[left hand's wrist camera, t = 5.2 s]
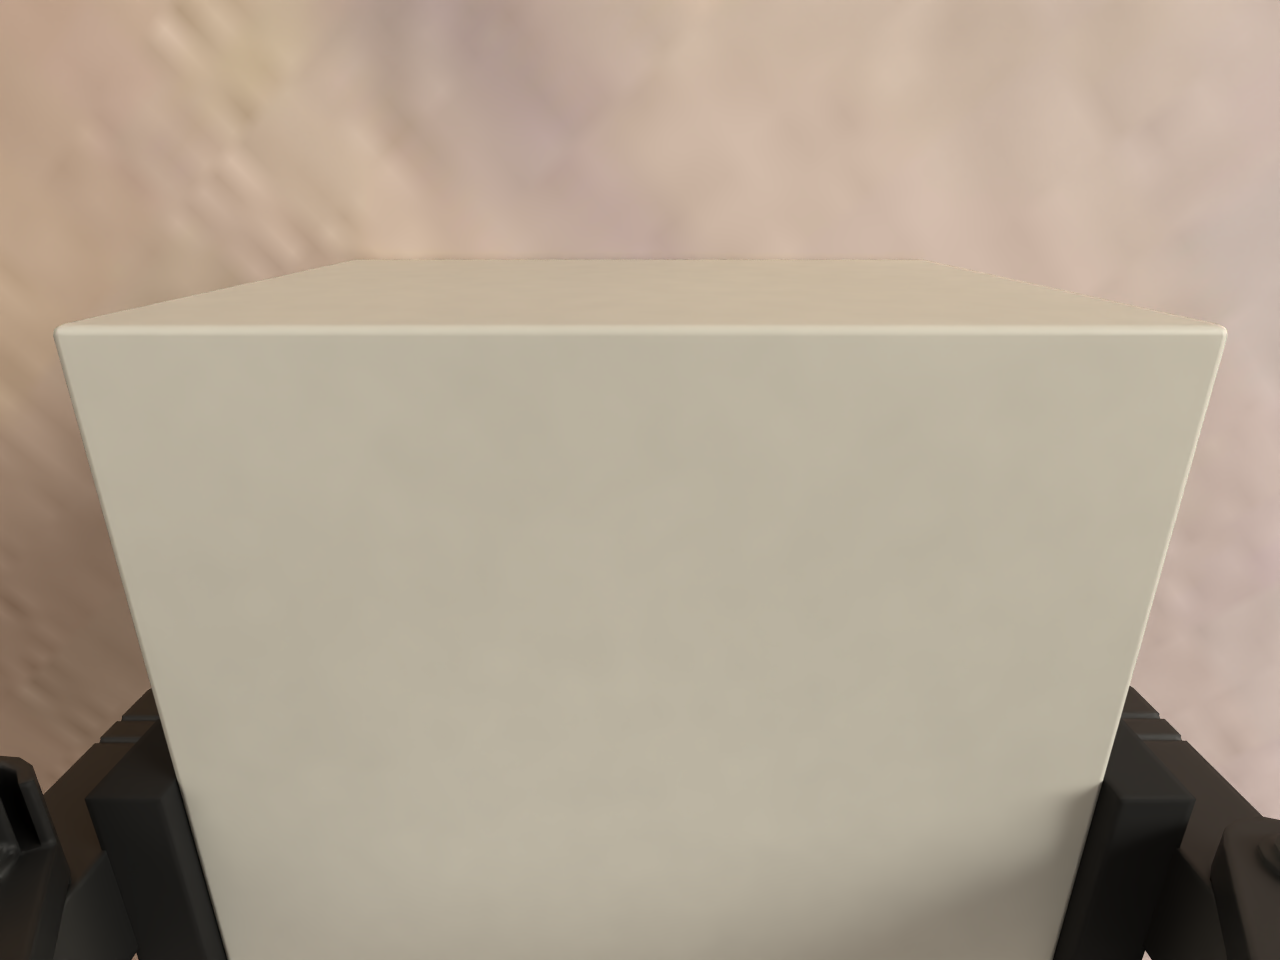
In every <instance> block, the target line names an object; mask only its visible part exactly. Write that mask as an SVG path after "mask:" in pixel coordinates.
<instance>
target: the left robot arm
mask: <svg viewBox="0 0 1280 960" xmlns="http://www.w3.org/2000/svg"><path fill="white" fill-rule="evenodd" d="M1145 950H1146V952H1147V953H1148V955H1149V956H1150V958H1151V959H1152V960H1280V820H1277V819H1271V818H1266V817H1263V816H1262V815H1261V814H1260V813H1259V812H1258V811H1257V810H1256V809H1255V808H1254V807H1253V806H1252V805H1251V804H1250V803H1249V802H1248V801H1247V800H1246V799H1245V798H1244V797H1243V796H1241V795H1240V794H1239V793H1238V792H1237V791H1236V790H1235V789H1234V788H1233V787H1232V786H1231V785H1230V784H1229V783H1228V782H1227V781H1226V780H1225V779H1224V778H1223V777H1222V776H1221V775H1220V774H1219V773H1218V772H1217V771H1216V770H1215V769H1214V768H1213V767H1212V766H1211V765H1210V764H1209V763H1208V762H1207V761H1206V760H1205V759H1204V758H1203V757H1202V756H1201V755H1200V754H1199V753H1198V752H1197V751H1196V750H1195V749H1194V748H1193V747H1192V746H1191V745H1190V744H1189V743H1188V742H1187V741H1182V740H1181V735H1180V734H1179V733H1178V732H1177V731H1176V730H1175V729H1174V728H1173V727H1172V726H1171V725H1170V724H1169V723H1168V722H1167V721H1166V720H1165V719H1160V717H1159V713H1158V712H1157V711H1156V710H1155V709H1154V708H1153V707H1152V706H1151V705H1150V704H1149V703H1148V702H1147V701H1146V700H1145V699H1144V698H1143V697H1142V696H1141V695H1140V694H1139V693H1138V692H1137V691H1136V690H1135V689H1134V688H1132V687H1131V686H1129V689H1128V693H1127V696H1126V700H1125V703H1124V707H1123V711H1122V714H1121V718H1120V721H1119V725H1118V728H1117V732H1116V736H1115V739H1114V743H1113V746H1112V750H1111V753H1110V757H1109V761H1108V764H1107V768H1106V771H1105V775H1104V778H1103V782H1102V786H1101V789H1100V793H1099V796H1098V800H1097V803H1096V807H1095V811H1094V814H1093V818H1092V821H1091V825H1090V828H1089V832H1088V836H1087V839H1086V843H1085V846H1084V850H1083V853H1082V857H1081V861H1080V864H1079V868H1078V871H1077V875H1076V878H1075V882H1074V886H1073V889H1072V893H1071V896H1070V900H1069V903H1068V907H1067V911H1066V914H1065V918H1064V921H1063V925H1062V928H1061V932H1060V935H1059V939H1058V943H1057V946H1056V950H1055V953H1054V957H1053V960H1142V958H1143V955H1144V952H1145ZM135 953H137V956H138V959H139V960H227V956H226V953H225V949H224V945H223V942H222V938H221V935H220V931H219V927H218V924H217V920H216V917H215V913H214V910H213V906H212V902H211V899H210V895H209V892H208V888H207V885H206V881H205V877H204V874H203V870H202V867H201V863H200V859H199V856H198V852H197V849H196V845H195V842H194V838H193V834H192V831H191V827H190V824H189V820H188V817H187V813H186V809H185V806H184V802H183V799H182V795H181V791H180V788H179V784H178V781H177V777H176V774H175V770H174V766H173V763H172V759H171V756H170V752H169V748H168V745H167V741H166V738H165V734H164V731H163V727H162V723H161V720H160V716H159V713H158V709H157V706H156V702H155V698H154V695H153V691H152V688H151V689H149V690H148V691H147V692H146V693H145V694H144V695H143V696H142V697H141V698H140V699H139V700H138V701H137V702H136V703H135V704H134V705H133V706H132V707H131V708H130V709H129V710H128V711H127V712H126V713H125V714H124V715H123V716H122V720H121V721H117V722H116V723H115V724H114V725H113V726H112V727H111V728H110V729H109V730H108V731H107V732H106V733H105V734H104V735H103V736H102V737H101V740H100V743H95V744H94V745H93V746H92V747H91V748H90V749H89V750H88V751H87V752H86V753H85V754H84V755H83V756H82V757H81V758H80V759H79V760H78V761H77V762H76V763H75V764H74V765H73V766H72V767H71V768H70V769H69V770H68V771H67V772H66V773H65V774H64V775H63V776H62V777H61V778H60V779H59V780H58V781H57V782H56V783H55V784H54V785H53V786H52V787H51V788H50V789H49V790H48V791H47V792H46V793H45V794H44V795H43V793H42V791H41V788H40V785H39V782H38V780H37V777H36V774H35V771H34V769H33V766H32V765H31V764H29V763H27V762H26V761H24V760H23V759H21V758H19V757H6V756H0V960H131V959H132V958H133V956H134V955H135Z"/></svg>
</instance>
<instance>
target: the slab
mask: <svg viewBox="0 0 1280 960" xmlns="http://www.w3.org/2000/svg"><path fill="white" fill-rule="evenodd" d="M53 337H54V340H55V344H56V348H57V351H58V355H59V358H60V362H61V365H62V369H63V373H64V376H65V380H66V383H67V387H68V390H69V394H70V398H71V401H72V405H73V408H74V412H75V416H76V419H77V423H78V426H79V430H80V433H81V437H82V441H83V444H84V448H85V451H86V455H87V459H88V462H89V466H90V469H91V473H92V476H93V480H94V484H95V487H96V491H97V494H98V498H99V501H100V505H101V509H102V512H103V516H104V519H105V523H106V527H107V530H108V534H109V537H110V541H111V544H112V548H113V552H114V555H115V559H116V562H117V566H118V569H119V573H120V577H121V580H122V584H123V587H124V591H125V595H126V598H127V602H128V605H129V609H130V612H131V616H132V620H133V623H134V627H135V630H136V634H137V638H138V641H139V645H140V648H141V652H142V655H143V659H144V663H145V666H146V670H147V673H148V677H149V680H150V684H151V688H152V691H153V695H154V698H155V702H156V706H157V709H158V713H159V716H160V720H161V723H162V727H163V731H164V734H165V738H166V741H167V745H168V748H169V752H170V756H171V759H172V763H173V766H174V770H175V774H176V777H177V781H178V784H179V788H180V791H181V795H182V799H183V802H184V806H185V809H186V813H187V817H188V820H189V824H190V827H191V831H192V834H193V838H194V842H195V845H196V849H197V852H198V856H199V859H200V863H201V867H202V870H203V874H204V877H205V881H206V885H207V888H208V892H209V895H210V899H211V902H212V906H213V910H214V913H215V917H216V920H217V924H218V927H219V931H220V935H221V938H222V942H223V945H224V949H225V953H226V956H227V960H1053V957H1054V953H1055V950H1056V946H1057V943H1058V939H1059V935H1060V932H1061V928H1062V925H1063V921H1064V918H1065V914H1066V911H1067V907H1068V903H1069V900H1070V896H1071V893H1072V889H1073V886H1074V882H1075V878H1076V875H1077V871H1078V868H1079V864H1080V861H1081V857H1082V853H1083V850H1084V846H1085V843H1086V839H1087V836H1088V832H1089V828H1090V825H1091V821H1092V818H1093V814H1094V811H1095V807H1096V803H1097V800H1098V796H1099V793H1100V789H1101V786H1102V782H1103V778H1104V775H1105V771H1106V768H1107V764H1108V761H1109V757H1110V753H1111V750H1112V746H1113V743H1114V739H1115V736H1116V732H1117V728H1118V725H1119V721H1120V718H1121V714H1122V711H1123V707H1124V703H1125V700H1126V696H1127V693H1128V689H1129V686H1130V682H1131V678H1132V675H1133V671H1134V668H1135V664H1136V661H1137V657H1138V653H1139V650H1140V646H1141V643H1142V639H1143V636H1144V632H1145V628H1146V625H1147V621H1148V618H1149V614H1150V611H1151V607H1152V603H1153V600H1154V596H1155V593H1156V589H1157V586H1158V582H1159V578H1160V575H1161V571H1162V568H1163V564H1164V561H1165V557H1166V553H1167V550H1168V546H1169V543H1170V539H1171V536H1172V532H1173V528H1174V525H1175V521H1176V518H1177V514H1178V511H1179V507H1180V503H1181V500H1182V496H1183V493H1184V489H1185V486H1186V482H1187V478H1188V475H1189V471H1190V468H1191V464H1192V461H1193V457H1194V453H1195V450H1196V446H1197V443H1198V439H1199V436H1200V432H1201V428H1202V425H1203V421H1204V418H1205V414H1206V411H1207V407H1208V403H1209V400H1210V396H1211V393H1212V389H1213V386H1214V382H1215V378H1216V375H1217V371H1218V368H1219V364H1220V361H1221V357H1222V353H1223V350H1224V346H1225V343H1226V339H1227V329H1226V328H1224V327H1223V326H1221V325H1218V324H1215V323H1211V322H1206V321H1202V320H1197V319H1193V318H1188V317H1183V316H1179V315H1174V314H1170V313H1165V312H1161V311H1156V310H1151V309H1147V308H1142V307H1138V306H1133V305H1129V304H1124V303H1119V302H1115V301H1110V300H1106V299H1101V298H1097V297H1092V296H1087V295H1083V294H1078V293H1074V292H1069V291H1065V290H1060V289H1055V288H1051V287H1046V286H1042V285H1037V284H1033V283H1028V282H1023V281H1019V280H1014V279H1010V278H1005V277H1001V276H996V275H991V274H987V273H982V272H978V271H973V270H969V269H964V268H959V267H955V266H950V265H946V264H941V263H937V262H932V261H927V260H352V261H347V262H343V263H338V264H334V265H329V266H325V267H320V268H316V269H311V270H306V271H302V272H297V273H293V274H288V275H284V276H279V277H275V278H270V279H266V280H261V281H256V282H252V283H247V284H243V285H238V286H234V287H229V288H225V289H220V290H215V291H211V292H206V293H202V294H197V295H193V296H188V297H184V298H179V299H175V300H170V301H165V302H161V303H156V304H152V305H147V306H143V307H138V308H134V309H129V310H124V311H120V312H115V313H111V314H106V315H102V316H97V317H93V318H88V319H84V320H79V321H74V322H70V323H65V324H62V325H60V326H58V327H56V328H55V329H54V334H53Z"/></svg>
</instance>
